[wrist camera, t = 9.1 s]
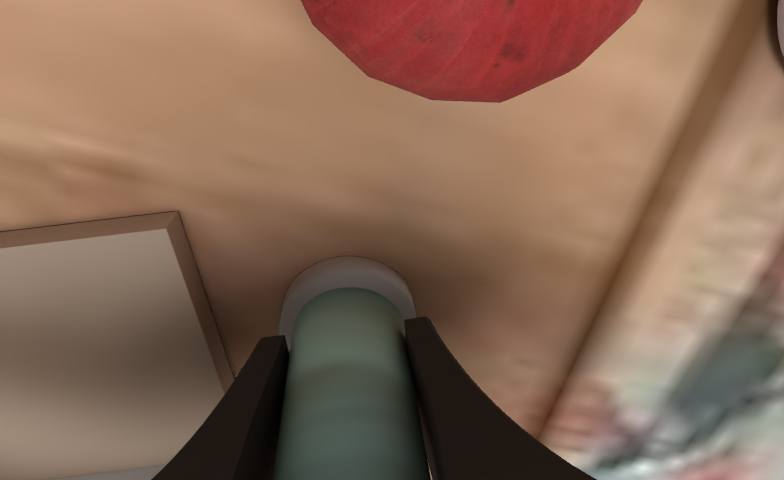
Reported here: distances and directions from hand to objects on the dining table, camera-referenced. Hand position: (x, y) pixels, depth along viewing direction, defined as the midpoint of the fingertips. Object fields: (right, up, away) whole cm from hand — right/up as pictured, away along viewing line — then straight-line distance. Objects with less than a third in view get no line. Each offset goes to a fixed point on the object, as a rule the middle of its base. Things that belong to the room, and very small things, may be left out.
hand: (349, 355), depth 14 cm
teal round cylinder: (0, +1, +2) cm, 2 cm away
